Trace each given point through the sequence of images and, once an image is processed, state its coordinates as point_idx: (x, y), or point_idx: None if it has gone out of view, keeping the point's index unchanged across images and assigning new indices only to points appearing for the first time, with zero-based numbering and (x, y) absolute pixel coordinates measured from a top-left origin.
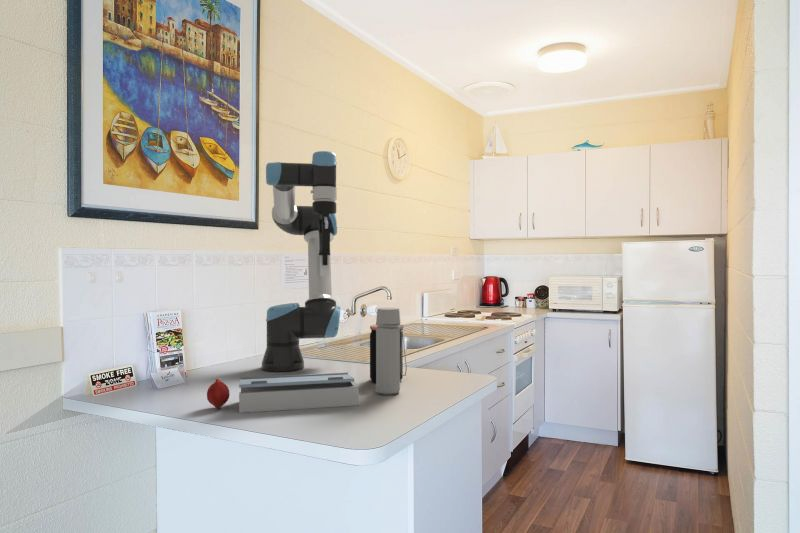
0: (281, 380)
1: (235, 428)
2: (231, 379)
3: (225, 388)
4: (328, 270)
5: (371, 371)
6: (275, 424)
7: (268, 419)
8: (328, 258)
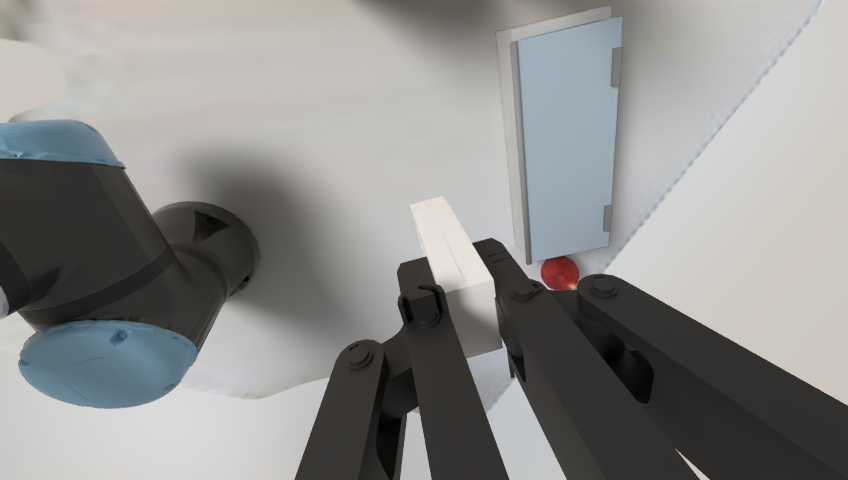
0: (579, 186)
1: (656, 206)
2: (345, 310)
3: (572, 267)
4: (452, 215)
5: None
6: (657, 156)
7: (628, 173)
8: (483, 265)
